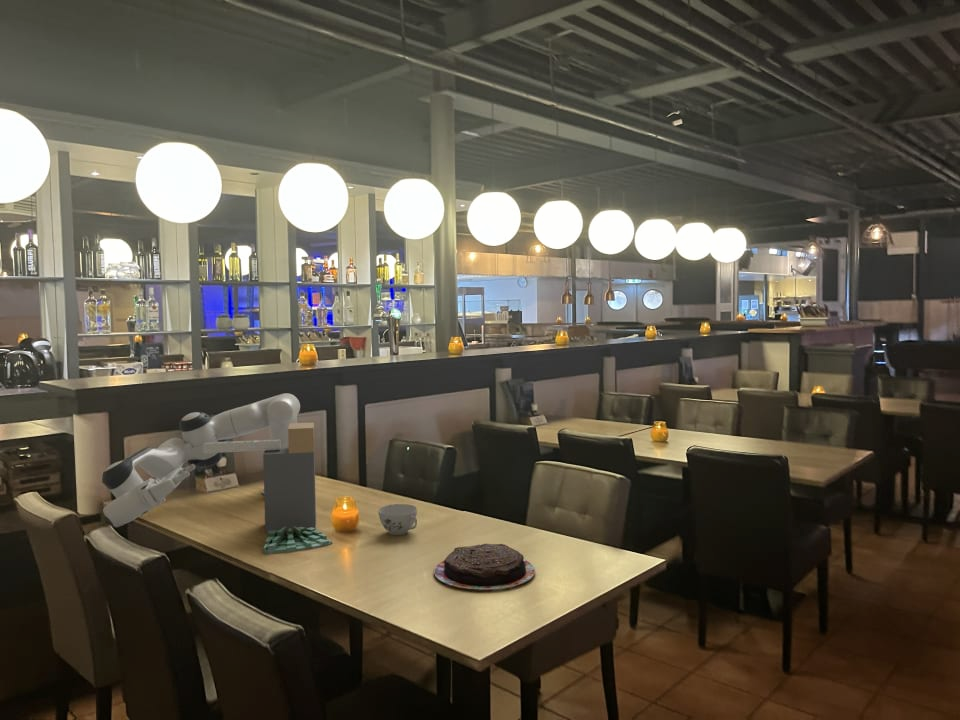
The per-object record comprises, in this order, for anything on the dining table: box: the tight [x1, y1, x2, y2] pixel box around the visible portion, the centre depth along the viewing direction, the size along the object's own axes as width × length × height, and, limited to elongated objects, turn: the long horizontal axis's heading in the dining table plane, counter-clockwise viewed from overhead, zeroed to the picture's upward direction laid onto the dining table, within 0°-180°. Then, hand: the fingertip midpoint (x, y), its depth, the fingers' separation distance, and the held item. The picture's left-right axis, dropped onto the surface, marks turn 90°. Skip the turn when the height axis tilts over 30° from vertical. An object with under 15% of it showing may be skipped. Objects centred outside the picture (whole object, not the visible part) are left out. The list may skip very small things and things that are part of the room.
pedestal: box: [262, 422, 317, 534], centre depth 247 cm, size 12×16×34 cm
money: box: [263, 527, 333, 555], centre depth 228 cm, size 20×16×5 cm
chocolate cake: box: [433, 543, 536, 593], centre depth 203 cm, size 28×28×7 cm
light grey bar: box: [203, 439, 281, 453], centre depth 243 cm, size 3×24×3 cm, turn 102°
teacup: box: [377, 503, 418, 536], centre depth 239 cm, size 15×12×8 cm
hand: (191, 469), depth 240 cm, fingers open, 8 cm apart
